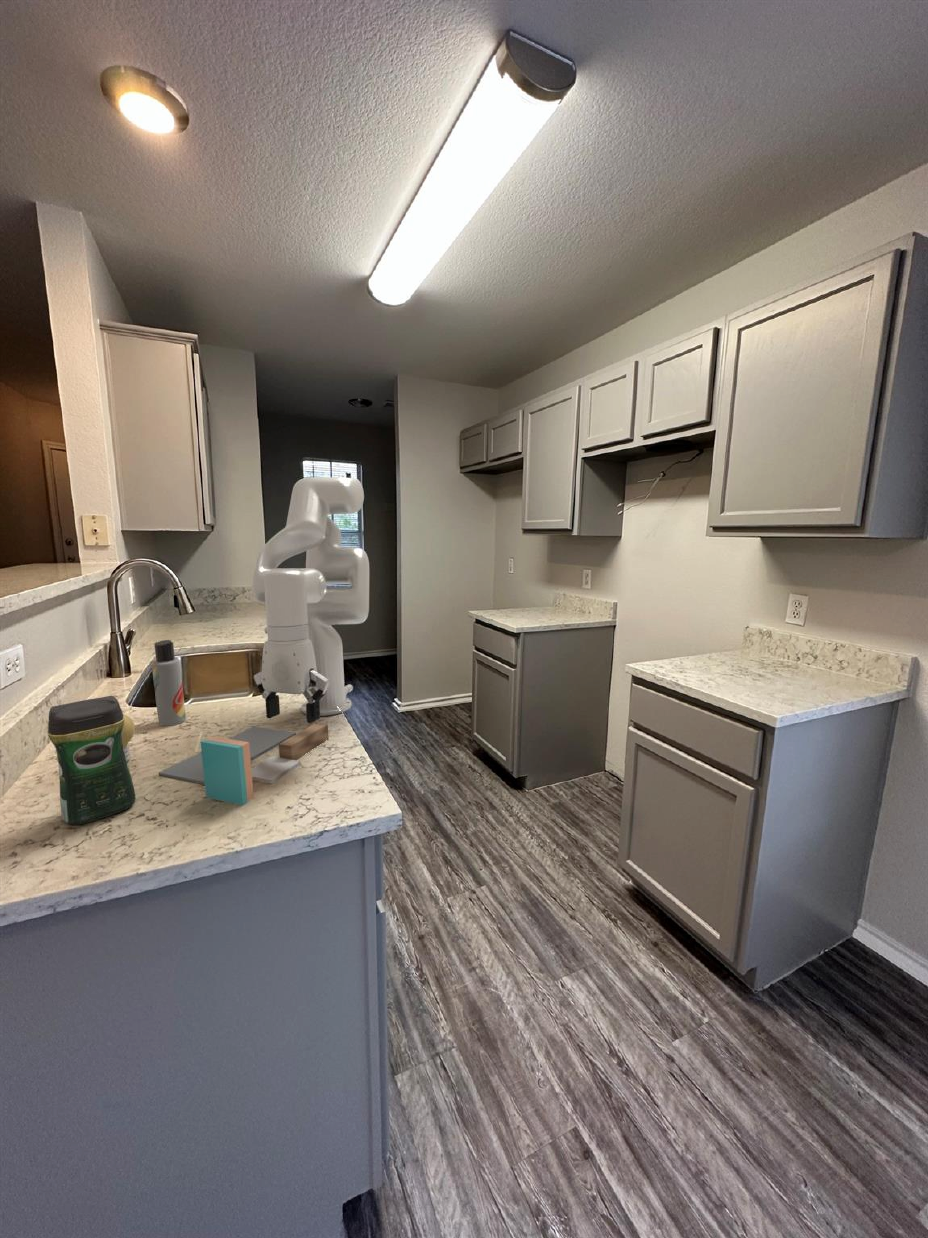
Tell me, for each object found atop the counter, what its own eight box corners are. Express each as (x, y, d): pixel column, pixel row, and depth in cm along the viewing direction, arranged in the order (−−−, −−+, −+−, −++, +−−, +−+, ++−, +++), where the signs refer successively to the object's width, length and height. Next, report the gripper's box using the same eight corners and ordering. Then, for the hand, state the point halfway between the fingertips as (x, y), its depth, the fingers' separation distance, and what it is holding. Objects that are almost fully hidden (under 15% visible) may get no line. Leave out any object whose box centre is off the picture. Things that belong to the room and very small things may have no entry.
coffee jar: (131, 791, 85) (118, 688, 82) (139, 809, 79) (125, 699, 76) (59, 812, 78) (42, 701, 75) (63, 833, 72) (44, 715, 70)
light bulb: (94, 773, 91) (87, 723, 90) (104, 760, 97) (97, 712, 95) (134, 767, 94) (128, 718, 92) (141, 754, 100) (135, 707, 98)
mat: (253, 728, 113) (253, 726, 113) (296, 734, 109) (296, 732, 109) (159, 775, 90) (158, 772, 90) (208, 785, 86) (207, 782, 86)
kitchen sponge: (217, 790, 85) (212, 736, 83) (253, 798, 82) (249, 742, 80) (206, 797, 82) (200, 741, 81) (243, 805, 80) (237, 748, 78)
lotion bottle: (191, 718, 120) (182, 638, 117) (175, 726, 114) (166, 643, 111) (169, 717, 120) (160, 638, 117) (153, 726, 115) (143, 643, 112)
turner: (309, 737, 108) (308, 721, 107) (336, 741, 105) (335, 725, 105) (241, 778, 89) (239, 760, 89) (271, 784, 87) (270, 765, 86)
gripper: (238, 634, 94) (244, 720, 96) (313, 638, 88) (317, 729, 90) (266, 629, 101) (271, 709, 103) (337, 632, 95) (341, 717, 97)
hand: (293, 718), depth 96 cm, fingers open, 9 cm apart
